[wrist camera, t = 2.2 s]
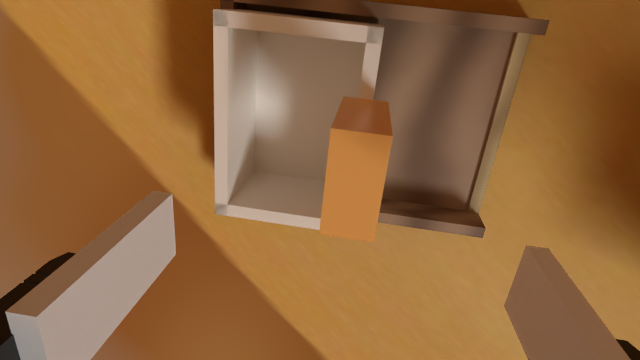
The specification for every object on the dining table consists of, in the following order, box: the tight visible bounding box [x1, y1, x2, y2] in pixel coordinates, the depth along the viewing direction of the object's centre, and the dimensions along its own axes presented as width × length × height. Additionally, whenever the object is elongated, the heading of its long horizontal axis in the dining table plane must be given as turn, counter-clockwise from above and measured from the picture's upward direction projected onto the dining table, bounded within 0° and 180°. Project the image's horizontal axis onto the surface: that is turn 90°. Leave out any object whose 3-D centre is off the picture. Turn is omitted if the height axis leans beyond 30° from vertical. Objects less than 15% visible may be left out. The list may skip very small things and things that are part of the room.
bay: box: [221, 0, 549, 238], centre depth 34 cm, size 24×18×4 cm
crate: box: [213, 9, 393, 243], centre depth 28 cm, size 12×15×16 cm
